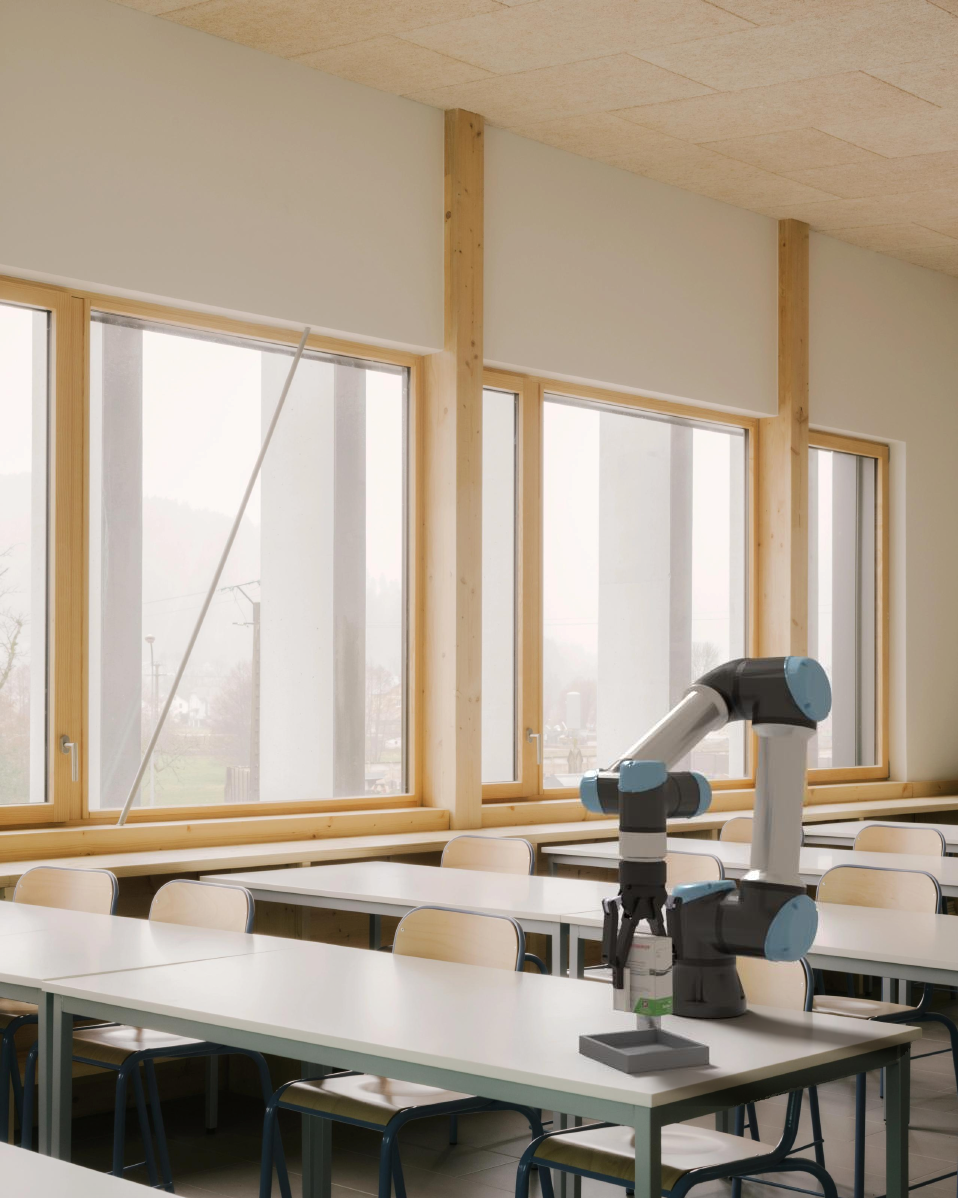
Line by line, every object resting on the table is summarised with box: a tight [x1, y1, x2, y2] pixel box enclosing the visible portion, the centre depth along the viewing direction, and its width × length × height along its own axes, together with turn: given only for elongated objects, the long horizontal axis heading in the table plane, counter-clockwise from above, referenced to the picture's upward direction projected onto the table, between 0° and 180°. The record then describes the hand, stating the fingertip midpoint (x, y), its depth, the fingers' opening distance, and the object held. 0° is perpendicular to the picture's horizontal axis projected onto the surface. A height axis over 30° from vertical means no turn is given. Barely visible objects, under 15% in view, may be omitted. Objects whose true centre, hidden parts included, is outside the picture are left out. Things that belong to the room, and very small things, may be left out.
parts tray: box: [578, 1028, 710, 1074], centre depth 219 cm, size 15×15×3 cm
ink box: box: [612, 932, 673, 1017], centre depth 220 cm, size 9×5×12 cm, turn 46°
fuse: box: [636, 1013, 662, 1030], centre depth 233 cm, size 4×4×8 cm
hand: (642, 1008), depth 220 cm, fingers closed on ink box, 6 cm apart
